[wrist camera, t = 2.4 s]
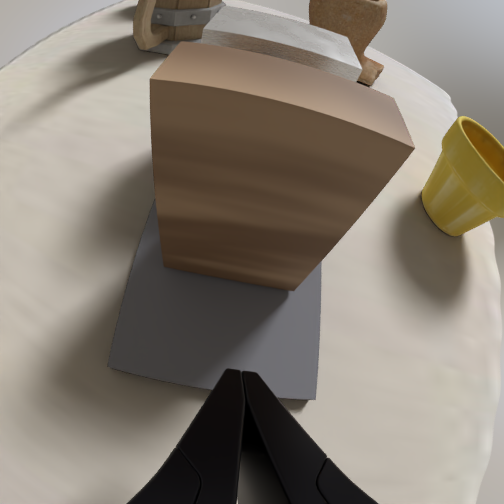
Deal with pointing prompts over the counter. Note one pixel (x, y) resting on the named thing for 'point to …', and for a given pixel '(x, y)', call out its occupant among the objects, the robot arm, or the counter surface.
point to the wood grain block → (264, 161)
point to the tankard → (171, 22)
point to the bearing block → (283, 40)
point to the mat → (215, 326)
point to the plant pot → (466, 179)
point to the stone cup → (352, 27)
